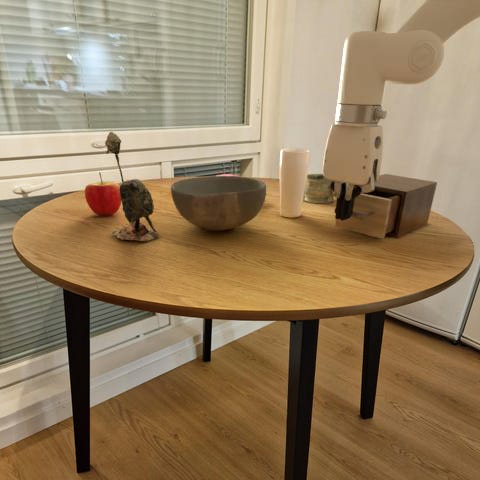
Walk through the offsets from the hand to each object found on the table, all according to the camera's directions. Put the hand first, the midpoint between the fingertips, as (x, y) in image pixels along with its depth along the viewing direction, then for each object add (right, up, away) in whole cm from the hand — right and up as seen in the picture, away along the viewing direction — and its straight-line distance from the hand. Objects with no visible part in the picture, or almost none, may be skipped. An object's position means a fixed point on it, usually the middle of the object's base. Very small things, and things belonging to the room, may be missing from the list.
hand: (342, 218), depth 84 cm
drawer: (+8, 0, +9) cm, 12 cm away
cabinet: (+14, +2, +15) cm, 20 cm away
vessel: (+1, +13, +34) cm, 37 cm away
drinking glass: (-8, +5, +20) cm, 22 cm away
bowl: (-25, 0, +10) cm, 27 cm away
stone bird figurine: (-41, -3, +3) cm, 42 cm away
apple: (-53, +5, +18) cm, 56 cm away
